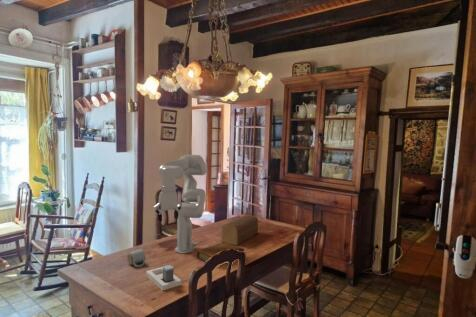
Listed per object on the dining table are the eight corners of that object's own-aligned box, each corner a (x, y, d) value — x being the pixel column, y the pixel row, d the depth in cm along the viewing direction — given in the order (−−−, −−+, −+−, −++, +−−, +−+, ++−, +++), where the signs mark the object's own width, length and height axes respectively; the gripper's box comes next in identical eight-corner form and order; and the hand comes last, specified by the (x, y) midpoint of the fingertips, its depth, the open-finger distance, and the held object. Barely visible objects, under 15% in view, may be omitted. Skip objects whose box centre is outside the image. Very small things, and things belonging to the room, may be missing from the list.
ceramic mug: (126, 263, 178) (126, 250, 178) (139, 259, 184) (139, 247, 183) (134, 269, 171) (134, 256, 170) (147, 265, 176) (148, 252, 176)
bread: (258, 233, 241) (258, 215, 240) (237, 246, 211) (238, 226, 210) (242, 230, 248) (243, 213, 247) (220, 242, 218) (220, 223, 217)
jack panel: (163, 271, 169) (163, 266, 169) (181, 284, 154) (181, 280, 153) (146, 275, 163) (146, 271, 162) (162, 290, 147) (162, 285, 147)
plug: (169, 281, 157) (170, 264, 156) (173, 284, 154) (173, 267, 153) (162, 283, 154) (162, 266, 154) (166, 287, 151) (166, 269, 151)
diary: (223, 250, 205) (223, 241, 204) (243, 258, 192) (244, 249, 192) (196, 258, 188) (196, 249, 188) (217, 268, 175) (217, 258, 175)
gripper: (179, 187, 177) (178, 216, 178) (150, 189, 166) (150, 220, 167) (185, 189, 171) (185, 219, 172) (156, 191, 160) (156, 223, 161)
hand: (168, 219), depth 170 cm, fingers open, 9 cm apart
